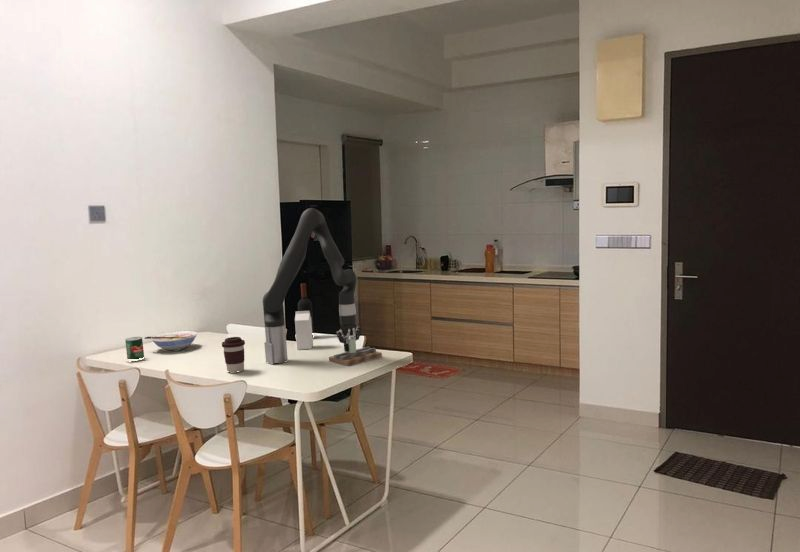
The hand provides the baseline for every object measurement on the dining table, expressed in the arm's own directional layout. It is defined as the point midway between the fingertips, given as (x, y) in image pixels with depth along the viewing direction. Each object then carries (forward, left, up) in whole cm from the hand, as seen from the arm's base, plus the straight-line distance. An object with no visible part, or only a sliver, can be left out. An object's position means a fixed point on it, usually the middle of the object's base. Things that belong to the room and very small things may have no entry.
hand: (350, 350), depth 290 cm
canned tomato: (-64, +92, -5) cm, 112 cm away
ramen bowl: (-41, +98, -5) cm, 106 cm away
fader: (0, 0, -2) cm, 2 cm away
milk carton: (+2, +40, -5) cm, 40 cm away
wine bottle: (+16, +59, -5) cm, 61 cm away
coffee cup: (-43, +28, -5) cm, 52 cm away
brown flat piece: (+3, 0, -5) cm, 5 cm away
